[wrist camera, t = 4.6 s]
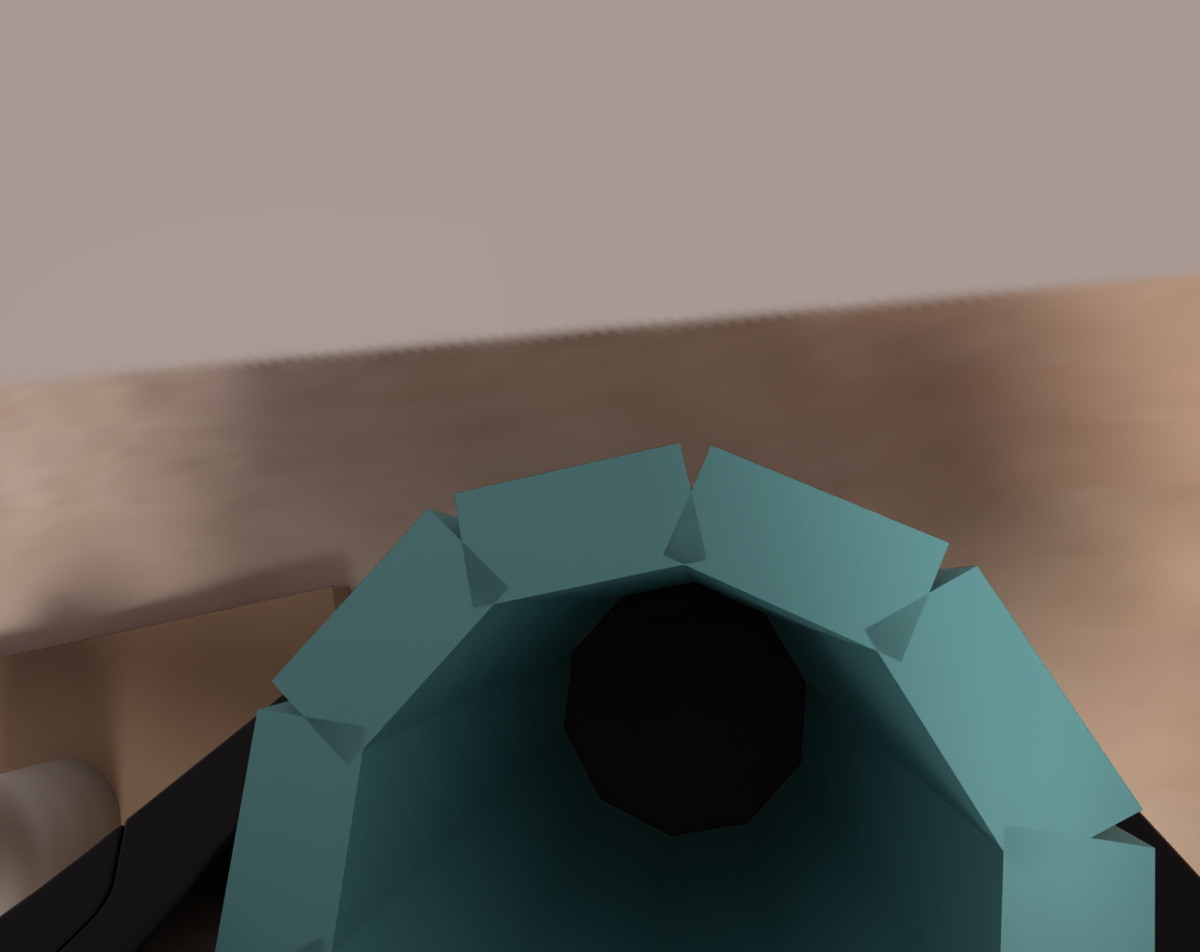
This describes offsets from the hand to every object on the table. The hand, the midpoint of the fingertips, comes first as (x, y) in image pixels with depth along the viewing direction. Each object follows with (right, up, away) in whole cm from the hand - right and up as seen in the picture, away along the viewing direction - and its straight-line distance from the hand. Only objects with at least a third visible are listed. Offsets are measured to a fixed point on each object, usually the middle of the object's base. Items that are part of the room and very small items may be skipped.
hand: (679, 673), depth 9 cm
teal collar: (+1, -2, +6) cm, 7 cm away
